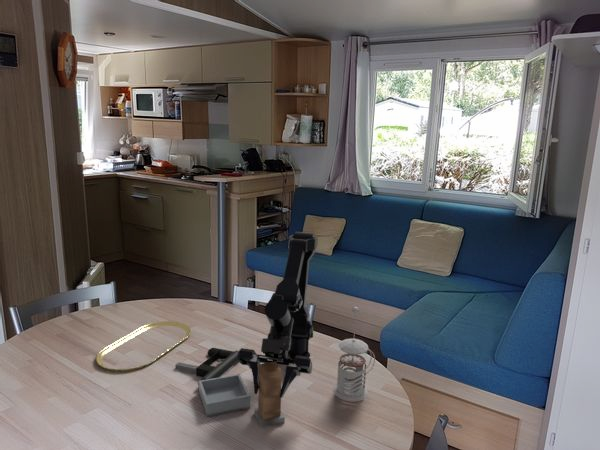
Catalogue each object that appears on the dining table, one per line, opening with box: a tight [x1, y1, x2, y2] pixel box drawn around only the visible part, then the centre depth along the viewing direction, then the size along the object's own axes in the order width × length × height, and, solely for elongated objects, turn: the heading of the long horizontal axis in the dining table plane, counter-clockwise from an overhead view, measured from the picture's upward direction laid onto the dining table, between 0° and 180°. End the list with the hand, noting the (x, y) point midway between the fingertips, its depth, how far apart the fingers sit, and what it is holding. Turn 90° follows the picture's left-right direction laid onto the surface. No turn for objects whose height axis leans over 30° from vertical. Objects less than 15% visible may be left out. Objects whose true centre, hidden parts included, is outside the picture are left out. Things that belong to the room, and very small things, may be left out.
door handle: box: [175, 347, 239, 386], centre depth 137 cm, size 3×20×16 cm
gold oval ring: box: [95, 320, 192, 372], centre depth 150 cm, size 19×35×2 cm, turn 159°
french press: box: [332, 306, 376, 403], centre depth 126 cm, size 10×12×25 cm
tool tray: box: [198, 373, 251, 418], centre depth 121 cm, size 11×11×4 cm
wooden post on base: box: [253, 362, 286, 429], centre depth 114 cm, size 6×6×14 cm
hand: (268, 395), depth 112 cm, fingers closed on wooden post on base, 6 cm apart
